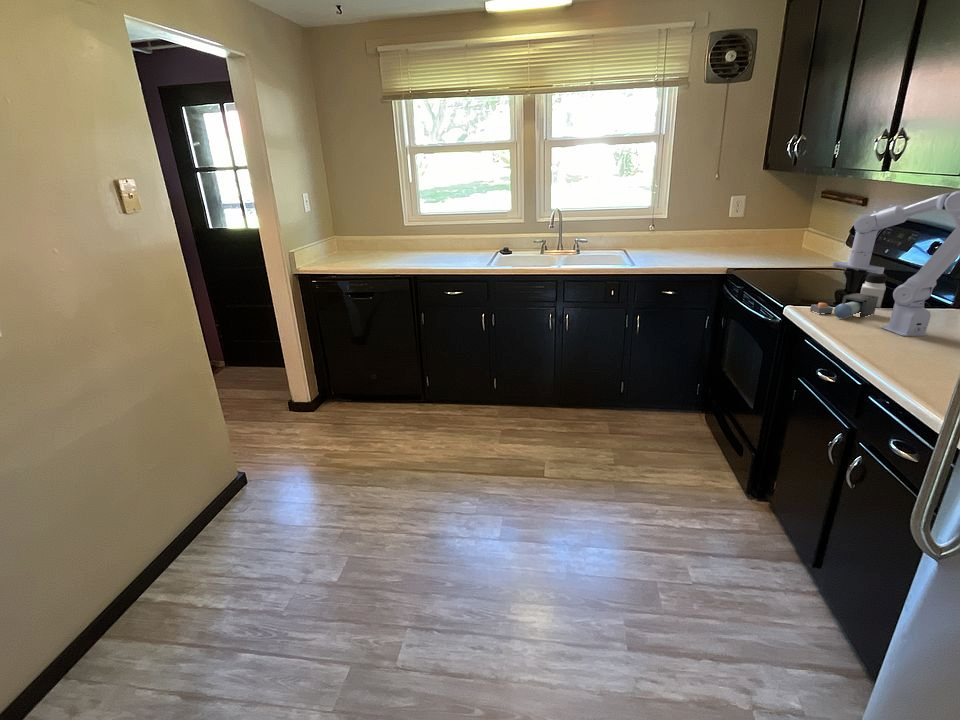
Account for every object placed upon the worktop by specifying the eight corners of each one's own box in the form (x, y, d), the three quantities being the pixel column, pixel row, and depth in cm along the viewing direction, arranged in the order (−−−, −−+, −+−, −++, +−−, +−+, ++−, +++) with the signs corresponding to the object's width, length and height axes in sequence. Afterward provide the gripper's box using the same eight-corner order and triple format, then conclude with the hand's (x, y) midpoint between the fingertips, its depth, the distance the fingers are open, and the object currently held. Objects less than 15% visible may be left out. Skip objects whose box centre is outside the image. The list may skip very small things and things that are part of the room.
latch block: (831, 314, 183) (833, 307, 182) (818, 314, 183) (820, 308, 182) (822, 310, 188) (824, 304, 187) (809, 310, 188) (811, 304, 187)
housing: (850, 309, 188) (855, 292, 186) (873, 314, 182) (878, 296, 180) (839, 313, 184) (843, 296, 182) (862, 318, 178) (867, 300, 176)
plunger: (826, 312, 184) (828, 304, 183) (819, 312, 184) (821, 304, 183) (822, 310, 186) (823, 302, 185) (815, 310, 186) (816, 302, 185)
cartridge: (853, 309, 186) (856, 296, 185) (868, 312, 182) (872, 299, 181) (832, 316, 179) (835, 302, 177) (848, 319, 175) (851, 305, 173)
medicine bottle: (880, 308, 190) (889, 276, 185) (857, 305, 194) (865, 273, 190) (881, 303, 195) (889, 272, 191) (858, 301, 199) (866, 270, 195)
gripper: (892, 253, 167) (881, 293, 172) (843, 247, 178) (834, 286, 183) (882, 255, 163) (871, 296, 168) (833, 249, 175) (824, 288, 180)
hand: (851, 291), depth 176 cm, fingers closed
